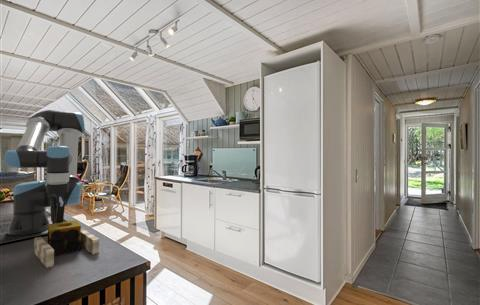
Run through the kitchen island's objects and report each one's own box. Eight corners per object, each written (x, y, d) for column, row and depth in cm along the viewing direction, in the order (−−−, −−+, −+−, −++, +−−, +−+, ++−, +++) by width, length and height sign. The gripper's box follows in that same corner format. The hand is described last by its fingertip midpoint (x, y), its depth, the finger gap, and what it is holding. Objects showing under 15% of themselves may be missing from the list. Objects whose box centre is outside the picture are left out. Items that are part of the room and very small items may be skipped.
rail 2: (76, 242, 102) (77, 229, 102) (82, 241, 104) (82, 228, 104) (92, 254, 91) (93, 240, 91) (98, 253, 92) (99, 238, 92)
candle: (47, 258, 87) (48, 230, 87) (46, 249, 95) (46, 224, 95) (80, 251, 94) (81, 225, 94) (77, 243, 101) (77, 219, 101)
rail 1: (34, 252, 91) (34, 238, 91) (40, 250, 93) (41, 236, 93) (46, 268, 80) (46, 251, 80) (53, 265, 81) (54, 249, 81)
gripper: (42, 182, 101) (41, 238, 101) (50, 185, 93) (49, 246, 93) (63, 180, 107) (62, 233, 107) (73, 183, 99) (72, 241, 99)
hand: (56, 239), depth 100 cm, fingers closed
